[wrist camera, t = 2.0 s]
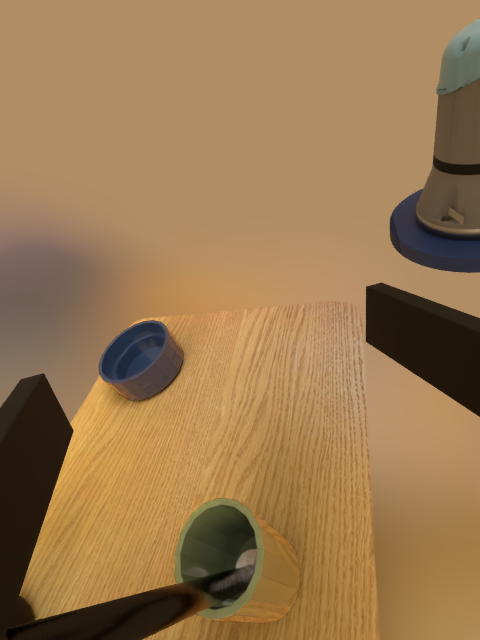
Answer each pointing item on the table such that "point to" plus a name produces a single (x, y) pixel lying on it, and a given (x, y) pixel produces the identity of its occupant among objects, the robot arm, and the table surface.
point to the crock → (223, 552)
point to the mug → (21, 613)
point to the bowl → (141, 360)
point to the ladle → (142, 609)
